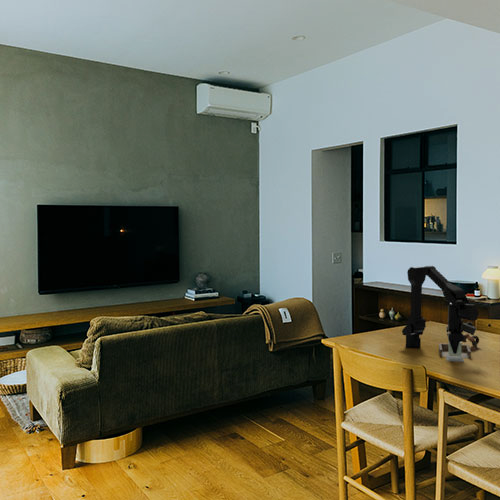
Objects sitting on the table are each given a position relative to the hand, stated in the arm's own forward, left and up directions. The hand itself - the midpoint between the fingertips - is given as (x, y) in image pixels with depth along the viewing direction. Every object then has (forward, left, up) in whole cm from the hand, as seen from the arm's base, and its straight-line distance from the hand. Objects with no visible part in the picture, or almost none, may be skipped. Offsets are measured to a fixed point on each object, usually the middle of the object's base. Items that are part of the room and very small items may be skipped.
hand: (454, 352), depth 228 cm
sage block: (0, 0, -1) cm, 1 cm away
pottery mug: (+8, +24, -4) cm, 26 cm away
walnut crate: (+1, +10, -4) cm, 11 cm away
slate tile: (0, 0, -4) cm, 4 cm away
